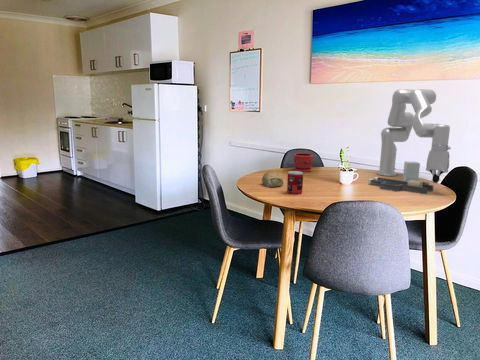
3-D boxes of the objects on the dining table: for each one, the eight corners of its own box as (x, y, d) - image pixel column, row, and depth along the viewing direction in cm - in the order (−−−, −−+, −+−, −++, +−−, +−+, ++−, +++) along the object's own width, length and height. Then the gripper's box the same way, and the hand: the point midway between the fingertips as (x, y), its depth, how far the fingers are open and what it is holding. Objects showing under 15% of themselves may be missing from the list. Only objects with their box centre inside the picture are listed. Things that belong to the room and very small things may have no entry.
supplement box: (418, 184, 223) (420, 163, 220) (404, 183, 224) (407, 162, 222) (414, 181, 230) (417, 161, 227) (402, 181, 231) (404, 161, 229)
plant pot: (291, 169, 266) (292, 152, 264) (309, 169, 268) (310, 152, 265) (295, 172, 253) (296, 155, 251) (314, 172, 255) (315, 155, 253)
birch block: (410, 188, 212) (411, 179, 211) (421, 190, 208) (422, 181, 207) (406, 190, 207) (407, 181, 206) (418, 192, 203) (419, 183, 202)
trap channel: (380, 180, 232) (380, 175, 231) (436, 189, 210) (436, 184, 209) (364, 185, 216) (364, 180, 215) (422, 195, 194) (423, 190, 194)
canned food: (286, 190, 200) (287, 170, 198) (301, 191, 200) (302, 171, 198) (287, 194, 193) (288, 173, 190) (303, 194, 192) (304, 173, 190)
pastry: (267, 182, 223) (268, 168, 222) (287, 184, 217) (287, 170, 215) (256, 186, 211) (257, 172, 210) (277, 188, 205) (277, 174, 204)
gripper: (457, 149, 193) (452, 183, 197) (426, 146, 203) (423, 179, 207) (453, 150, 188) (448, 185, 191) (421, 147, 198) (418, 181, 202)
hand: (435, 182), depth 199 cm, fingers closed
